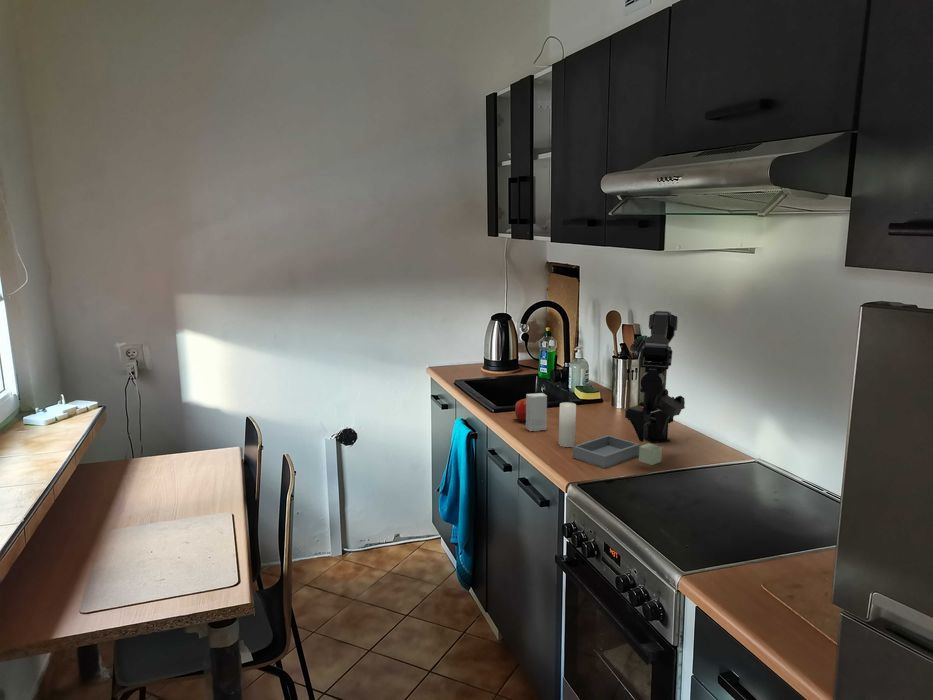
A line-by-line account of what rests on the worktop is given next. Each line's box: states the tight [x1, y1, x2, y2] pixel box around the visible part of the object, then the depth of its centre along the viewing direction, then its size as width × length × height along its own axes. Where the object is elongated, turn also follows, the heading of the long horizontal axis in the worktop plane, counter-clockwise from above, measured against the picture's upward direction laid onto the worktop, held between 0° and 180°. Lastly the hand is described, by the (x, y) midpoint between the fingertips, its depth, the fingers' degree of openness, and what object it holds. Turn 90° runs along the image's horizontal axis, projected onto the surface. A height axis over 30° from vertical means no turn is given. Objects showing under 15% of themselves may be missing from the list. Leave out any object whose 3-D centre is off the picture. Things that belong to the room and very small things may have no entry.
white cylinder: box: [558, 401, 577, 448], centre depth 211 cm, size 5×5×13 cm
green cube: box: [638, 442, 663, 466], centre depth 197 cm, size 4×4×4 cm
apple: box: [514, 398, 526, 422], centre depth 236 cm, size 8×8×8 cm
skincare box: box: [525, 392, 548, 432], centre depth 226 cm, size 6×4×12 cm
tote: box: [571, 434, 641, 469], centre depth 201 cm, size 17×12×4 cm
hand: (651, 438), depth 197 cm, fingers open, 9 cm apart
